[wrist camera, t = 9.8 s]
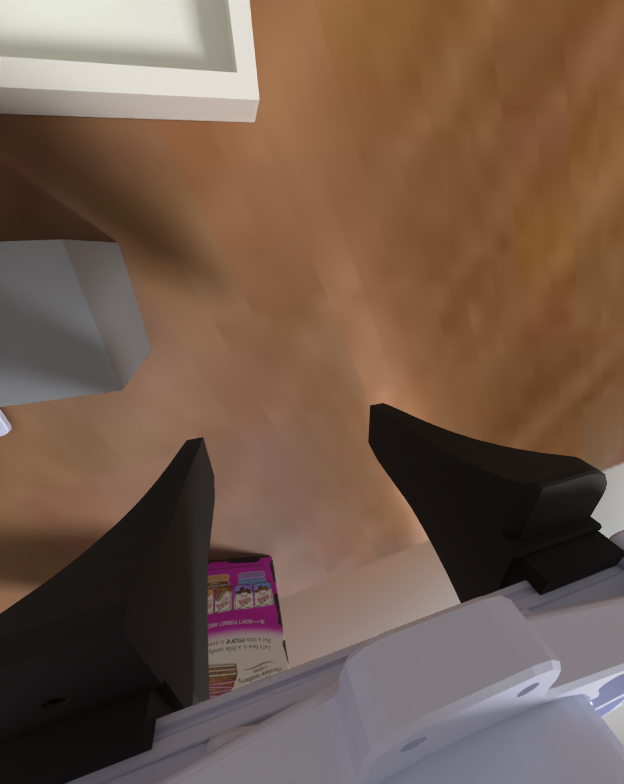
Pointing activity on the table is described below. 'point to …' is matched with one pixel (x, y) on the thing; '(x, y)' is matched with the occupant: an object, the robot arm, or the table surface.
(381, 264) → the table surface
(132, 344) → the gray block
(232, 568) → the candy bar box
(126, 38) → the tray
